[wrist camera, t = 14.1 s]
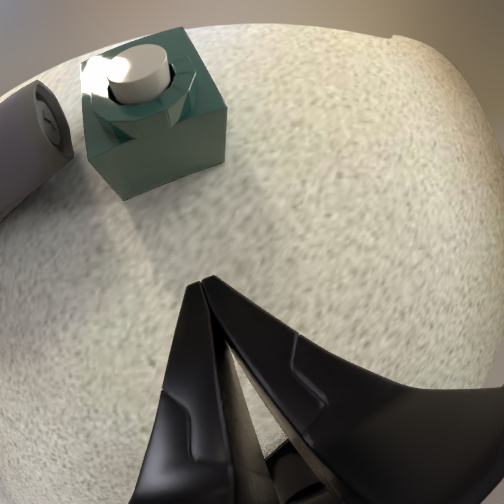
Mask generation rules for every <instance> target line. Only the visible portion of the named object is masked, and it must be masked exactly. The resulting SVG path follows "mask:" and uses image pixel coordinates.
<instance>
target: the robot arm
mask: <svg viewBox="0 0 504 504" xmlns="http://www.w3.org/2000/svg"><path fill="white" fill-rule="evenodd" d="M228 345H229V346H228ZM229 347H230V349H231V351H232V353H233V355H234V357H235V358H236V360H237V361H238V363H239V365H240V366H241V368H242V369H243V371H244V373H245V374H246V376H247V377H248V379H249V381H250V382H251V384H252V385H253V387H254V388H255V390H256V391H257V393H258V395H259V396H260V398H261V399H262V401H263V402H264V404H265V405H266V407H267V408H268V410H269V411H270V413H271V414H272V415H273V417H274V418H275V420H276V421H277V423H278V424H279V426H280V427H281V429H282V430H283V431H284V433H285V434H286V436H287V437H288V439H287V440H286V441H284V442H283V443H282V444H281V445H280V446H279V447H278V448H277V449H276V450H274V451H273V452H272V453H271V454H270V455H269V456H268V457H266V458H265V459H264V456H263V454H262V451H261V448H260V445H259V442H258V439H257V436H256V433H255V430H254V427H253V424H252V421H251V417H250V414H249V411H248V408H247V405H246V402H245V398H244V395H243V392H242V388H241V385H240V382H239V378H238V375H237V372H236V368H235V365H234V361H233V358H232V355H231V352H230V349H229ZM162 389H163V390H162V391H161V395H160V400H159V405H158V409H157V413H156V418H155V422H154V426H153V429H152V433H151V436H150V440H149V443H148V447H147V450H146V453H145V456H144V460H143V463H142V467H141V470H140V473H139V477H138V480H137V484H136V487H135V490H134V493H133V495H132V497H131V499H130V501H129V503H128V504H504V385H503V386H501V387H498V388H484V389H483V388H482V389H420V388H414V387H409V386H406V385H402V384H400V383H397V382H394V381H392V380H390V379H387V378H385V377H382V376H380V375H378V374H375V373H373V372H371V371H368V370H366V369H364V368H362V367H359V366H357V365H355V364H353V363H351V362H348V361H346V360H344V359H342V358H340V357H338V356H336V355H334V354H332V353H330V352H329V351H327V350H325V349H323V348H322V347H320V346H318V345H317V344H315V343H313V342H312V341H310V340H309V339H307V338H306V337H304V336H303V335H301V334H300V335H299V333H298V332H296V331H295V330H293V329H292V328H290V327H289V326H287V325H286V324H284V323H283V322H281V321H280V320H278V319H277V318H275V317H274V316H273V315H271V314H270V313H268V312H267V311H265V310H264V309H262V308H261V307H259V306H258V305H256V304H255V303H254V302H252V301H251V300H249V299H248V298H246V297H245V296H244V295H242V294H241V293H239V292H238V291H236V290H235V289H234V288H232V287H231V286H229V285H228V284H227V283H225V282H224V281H222V280H221V279H220V278H218V277H217V276H215V275H212V276H210V277H207V278H205V279H203V280H202V281H201V282H200V281H197V282H195V283H192V284H190V285H188V286H187V287H186V290H185V294H184V298H183V301H182V305H181V309H180V313H179V317H178V321H177V325H176V329H175V333H174V337H173V341H172V346H171V350H170V354H169V358H168V363H167V367H166V372H165V376H164V381H163V386H162Z"/></svg>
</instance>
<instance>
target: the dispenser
mask: <svg viewBox="0 0 504 504" xmlns="http://www.w3.org/2000/svg"><path fill="white" fill-rule="evenodd" d="M143 44H154V45H158V46H160V47H162V48H163V49H164V50H165V51H166V53H167V58H168V64H169V70H170V76H171V80H170V84H169V86H168V88H167V89H166V90H165V91H164V92H163V93H162V94H161V95H160V96H158V97H157V98H155V99H152V100H150V101H147V102H144V103H142V104H139V105H124V104H121V103H119V102H118V101H117V100H116V99H115V97H114V95H113V92H112V90H111V88H110V85H109V83H108V81H107V78H106V75H105V71H106V68H107V66H108V64H109V62H110V61H111V60H112V59H113V58H114V57H115V56H117V55H118V54H119V53H121V52H123V51H124V50H126V49H129V48H131V47H134V46H138V45H143ZM81 96H82V112H83V124H84V133H85V142H86V150H87V157H88V161H89V162H90V163H91V165H92V166H93V167H94V168H95V169H96V170H97V172H98V173H99V174H100V175H101V176H102V177H103V179H104V180H105V181H106V182H107V183H108V184H109V185H110V187H111V188H112V189H113V190H114V191H115V192H116V193H117V195H118V196H119V197H120V198H121V199H122V200H123V201H125V200H128V199H130V198H132V197H134V196H137V195H139V194H141V193H144V192H146V191H148V190H151V189H153V188H156V187H158V186H161V185H163V184H166V183H168V182H171V181H173V180H176V179H178V178H181V177H184V176H186V175H189V174H192V173H195V172H197V171H200V170H203V169H206V168H209V167H211V166H214V165H217V164H220V163H223V162H225V144H226V124H227V106H226V104H225V102H224V100H223V98H222V96H221V94H220V92H219V91H218V89H217V87H216V85H215V83H214V81H213V79H212V78H211V76H210V74H209V72H208V70H207V68H206V67H205V65H204V63H203V61H202V60H201V58H200V56H199V54H198V52H197V51H196V49H195V47H194V45H193V44H192V42H191V40H190V38H189V37H188V35H187V33H186V32H185V30H184V28H183V27H178V28H175V29H171V30H167V31H163V32H160V33H156V34H153V35H150V36H147V37H144V38H141V39H138V40H135V41H132V42H129V43H127V44H124V45H121V46H119V47H116V48H114V49H111V50H109V51H106V52H104V53H102V54H99V55H97V56H95V57H93V58H91V59H88V60H86V61H84V62H82V63H81Z"/></svg>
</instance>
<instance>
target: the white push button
mask: <svg viewBox="0 0 504 504" xmlns="http://www.w3.org/2000/svg"><path fill="white" fill-rule="evenodd" d="M105 75H106V78H107V81H108V83H109V85H110V88H111V90H112V92H113V95H114V97H115V99H116V100H117V101H118V102H119V103H121V104H124V105H139V104H142V103H144V102H147V101H150V100H152V99H155V98H157V97H158V96H160V95H161V94H162V93H163V92H164V91H165V90H166V89H167V88H168V86H169V84H170V80H171V76H170V70H169V64H168V58H167V53H166V51H165V50H164V49H163V48H162V47H160V46H158V45H154V44H143V45H138V46H134V47H131V48H129V49H126V50H124V51H123V52H121V53H119V54H118V55H117V56H115V57H114V58H113V59H112V60H111V61H110V62H109V64H108V66H107V68H106V71H105Z"/></svg>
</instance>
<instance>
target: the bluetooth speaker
mask: <svg viewBox="0 0 504 504" xmlns="http://www.w3.org/2000/svg"><path fill="white" fill-rule="evenodd" d="M73 158H74V151H73V147H72V142H71V135H70V129H69V125H68V123H67V120H66V117H65V115H64V113H63V110H62V108H61V106H60V104H59V102H58V100H57V98H56V97H55V95H54V94H53V92H52V91H51V90H50V89H48V88H47V87H46V86H45V85H44V84H43V83H42V82H40V81H38V80H36V81H34V82H32V83H30V84H28V85H26V86H25V87H23V88H21V89H20V90H18V91H17V92H15V93H14V94H12V95H11V96H9V97H8V98H7V99H5V100H4V101H3V102H1V103H0V222H1V221H2V220H3V219H4V218H5V216H6V215H7V214H8V213H10V212H11V211H12V210H13V209H14V208H15V207H16V206H17V205H18V204H19V203H21V202H22V201H23V200H24V199H25V198H27V197H28V195H29V194H31V193H32V192H33V191H34V190H36V189H37V188H38V187H39V186H41V185H42V184H43V183H44V182H46V181H47V180H48V179H50V178H51V177H52V176H53V175H54V174H55V173H57V172H58V171H59V170H60V169H61V168H63V167H64V166H65V165H66V164H67V163H69V162H70V161H71V160H72V159H73Z"/></svg>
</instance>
